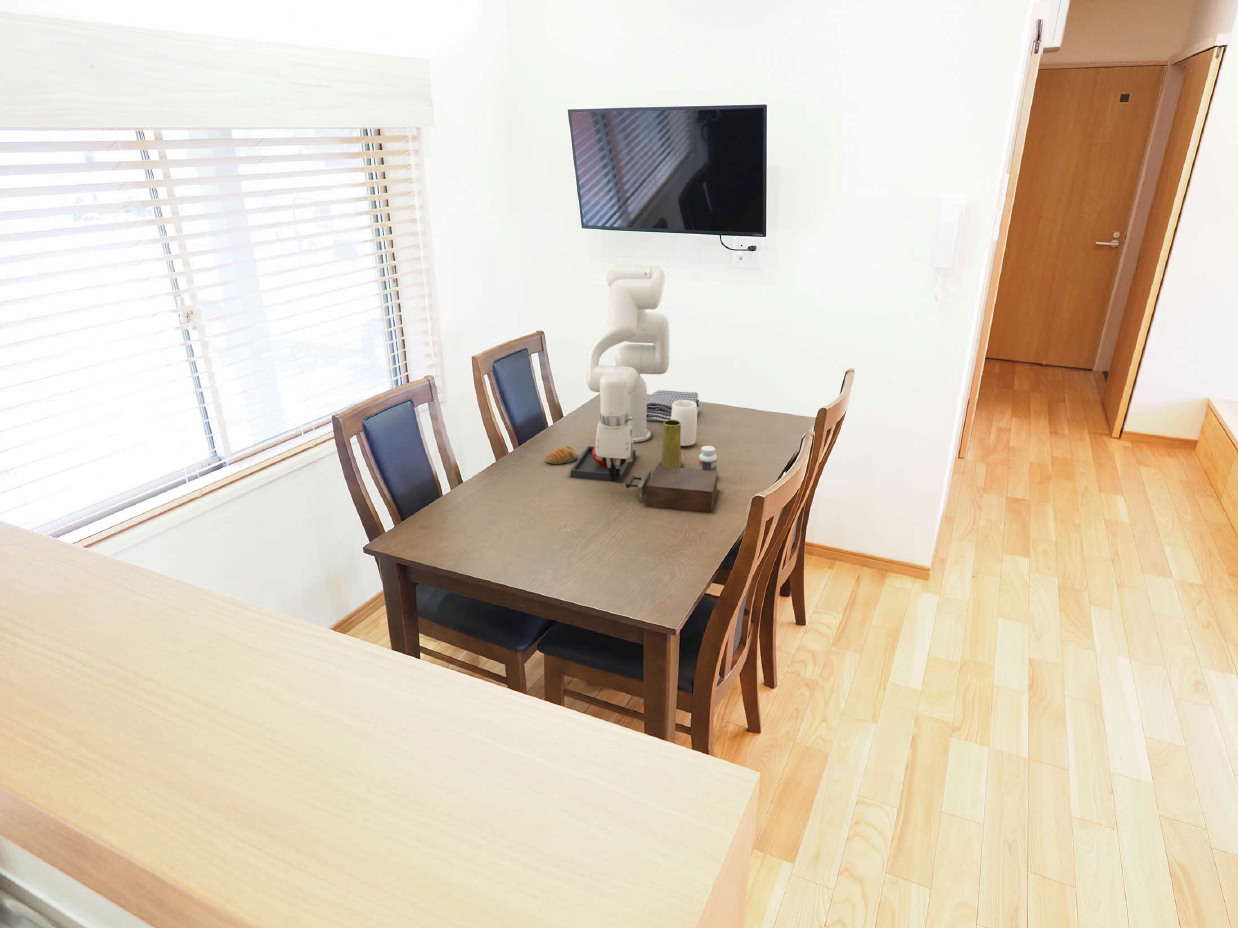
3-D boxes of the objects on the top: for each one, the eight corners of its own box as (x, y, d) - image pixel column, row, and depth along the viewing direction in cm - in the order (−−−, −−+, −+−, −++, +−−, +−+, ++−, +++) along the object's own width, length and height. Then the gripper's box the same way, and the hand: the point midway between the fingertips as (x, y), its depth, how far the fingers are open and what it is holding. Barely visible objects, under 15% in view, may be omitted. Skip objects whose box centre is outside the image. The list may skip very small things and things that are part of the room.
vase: (675, 471, 238) (676, 427, 232) (657, 467, 241) (658, 423, 235) (684, 464, 243) (685, 421, 237) (667, 460, 246) (668, 417, 240)
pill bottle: (694, 479, 233) (695, 448, 229) (704, 473, 237) (705, 443, 233) (709, 483, 230) (710, 453, 226) (719, 478, 233) (721, 447, 230)
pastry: (553, 467, 241) (553, 456, 240) (541, 461, 246) (541, 449, 244) (578, 460, 246) (578, 448, 245) (566, 453, 251) (565, 442, 250)
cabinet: (646, 506, 217) (646, 485, 214) (655, 485, 229) (656, 465, 226) (711, 512, 213) (712, 491, 210) (716, 491, 225) (717, 471, 223)
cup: (701, 444, 258) (703, 403, 252) (685, 451, 252) (686, 410, 247) (681, 438, 263) (682, 397, 258) (665, 445, 258) (665, 404, 252)
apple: (595, 458, 245) (595, 435, 242) (618, 460, 244) (617, 436, 241) (589, 467, 239) (589, 443, 236) (612, 470, 237) (612, 445, 234)
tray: (588, 452, 252) (587, 445, 251) (635, 456, 249) (635, 449, 248) (570, 477, 235) (570, 470, 234) (621, 481, 231) (621, 474, 230)
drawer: (622, 499, 218) (622, 485, 216) (632, 481, 229) (632, 467, 228) (697, 507, 214) (697, 492, 212) (703, 487, 225) (703, 473, 223)
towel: (652, 407, 292) (652, 387, 289) (701, 412, 287) (702, 391, 284) (642, 421, 278) (642, 400, 275) (693, 426, 274) (693, 404, 271)
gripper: (643, 415, 218) (642, 476, 225) (591, 412, 221) (592, 471, 228) (638, 425, 211) (637, 487, 219) (584, 421, 214) (585, 482, 222)
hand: (614, 479), depth 223 cm, fingers closed
